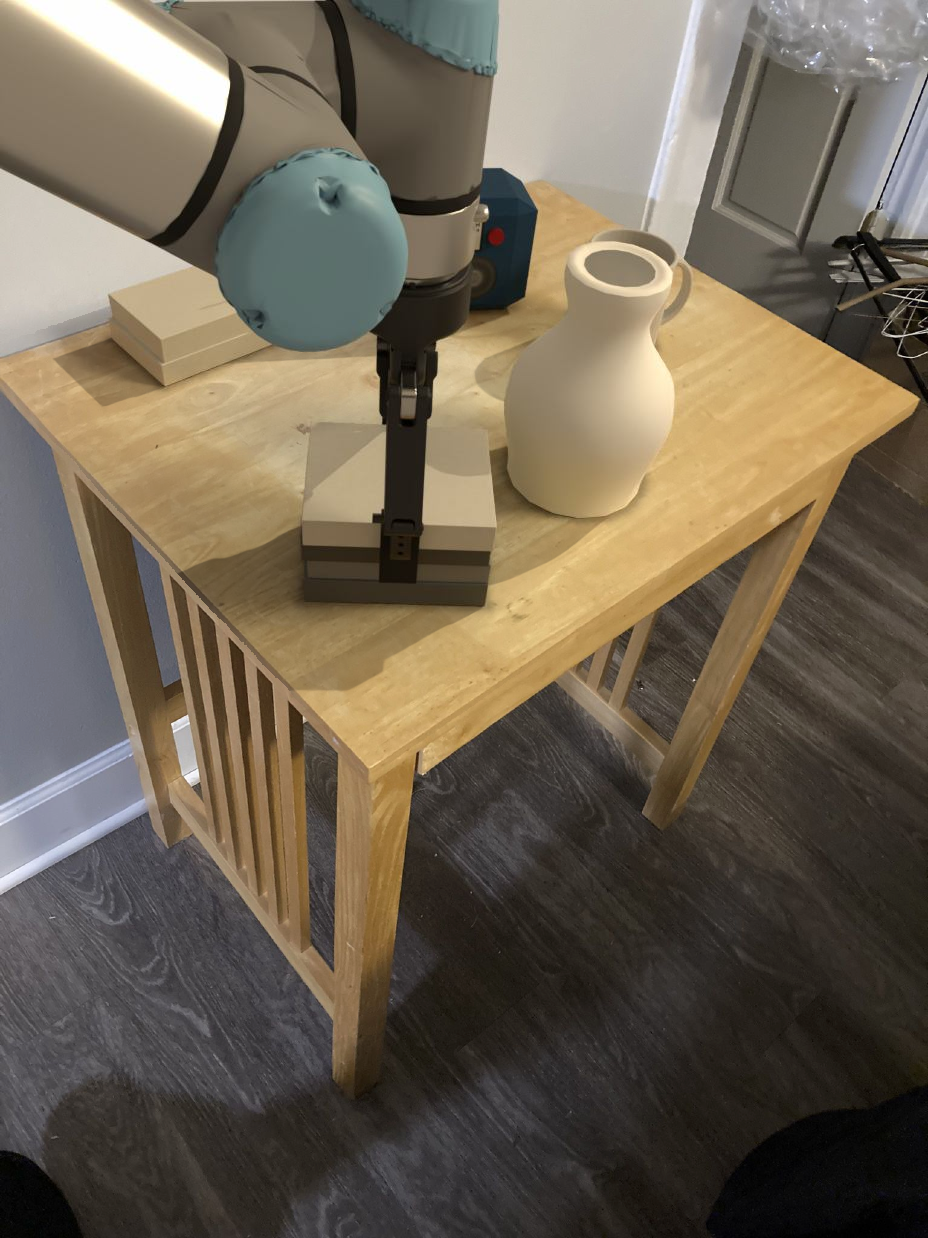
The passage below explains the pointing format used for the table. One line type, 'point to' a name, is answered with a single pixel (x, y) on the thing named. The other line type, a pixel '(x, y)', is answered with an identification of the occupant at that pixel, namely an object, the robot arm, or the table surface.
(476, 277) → the radio
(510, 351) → the table surface
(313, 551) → the dark brown box
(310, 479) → the beige flat block
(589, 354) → the vase
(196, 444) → the table surface
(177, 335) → the beige rectangular block
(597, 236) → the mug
